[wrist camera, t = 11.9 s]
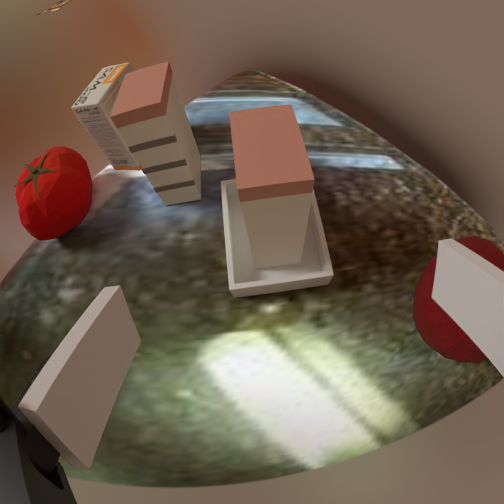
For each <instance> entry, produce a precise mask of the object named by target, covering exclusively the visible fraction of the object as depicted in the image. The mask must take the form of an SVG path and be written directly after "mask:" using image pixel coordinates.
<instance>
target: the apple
mask: <svg viewBox="0 0 504 504" xmlns="http://www.w3.org/2000/svg"><path fill="white" fill-rule="evenodd" d="M456 241H457V242H458V243H460V244H462V245H463V246H465V247H467V248H468V249H470V250H471V251H473V252H475V253H476V254H478V255H479V256H481V257H482V258H484V259H485V260H487V261H488V262H490V263H492V264H493V265H494V266H496V267H497V268H499V269H500V270H502V271H503V272H504V253H503V252H502V251H501V250H500V249H499V248H497V247H496V246H495V245H494V244H493V243H492V242H490V241H489V240H487V239H483V238H480V237H476V236H470V237H466V238H462V239H459V240H456ZM437 254H438V253H437ZM437 254H436V255H435V256H434V257H433V258H432V259H431V261H430V262H429V263H428V265H427V266H426V267H425V269H424V270H423V271H422V274H421V276H420V279H419V282H418V284H417V287H416V290H415V299H414V311H413V318H414V321H415V324H416V328H417V331H418V332H419V334H420V335H421V337H422V338H423V340H424V341H425V342H426V343H427V344H428V345H429V346H430V347H431V348H433V349H434V350H435V351H437V352H438V353H439V354H441V355H442V356H444V357H445V358H448V359H452V360H456V361H460V362H478V363H479V362H481V361H482V360H483V359H485V358H486V357H487V356H486V355H485V354H484V353H483V352H482V351H481V349H480V348H479V347H478V346H477V345H476V344H475V343H474V342H473V340H472V339H471V338H470V337H469V336H468V335H467V334H466V333H465V332H464V331H463V330H462V328H461V327H460V326H459V325H458V324H457V323H456V322H455V321H454V320H453V319H452V318H451V317H450V316H449V315H448V314H447V313H446V312H445V311H444V310H443V309H442V308H441V307H440V306H439V305H438V304H437V302H436V301H435V300H434V299H433V298H432V291H433V285H434V278H435V271H436V263H437Z"/></svg>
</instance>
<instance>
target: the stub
mask: <svg viewBox="0 0 504 504" xmlns="http://www.w3.org/2000/svg"><path fill="white" fill-rule="evenodd" d="M229 115H230V125H231V135H232V145H233V154H234V164H235V174H236V183H237V191H238V195H239V199H240V204H241V208H242V212H243V216H244V221H245V225H246V229H247V233H248V238H249V242H250V246H251V250H252V255H253V259H254V263H255V268H256V269H263V268H270V267H277V266H284V265H291V264H298V263H301V258H302V252H303V247H304V241H305V235H306V230H307V224H308V218H309V212H310V206H311V199H312V193H313V187H314V180H315V179H314V176H313V172H312V169H311V165H310V162H309V158H308V155H307V152H306V148H305V145H304V142H303V139H302V136H301V132H300V129H299V126H298V123H297V120H296V117H295V114H294V111H293V108H292V105H282V106H272V107H263V108H255V109H248V110H241V111H234V112H229Z"/></svg>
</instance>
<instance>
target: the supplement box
mask: <svg viewBox="0 0 504 504" xmlns="http://www.w3.org/2000/svg"><path fill="white" fill-rule="evenodd" d="M133 71H134V70H133V68H132V66H131V63H124V64H119V65H114V66H109V67H105V68H103V69H102V70H101V71H100V73H99V74H98V75H97V76H96V77H95V78H94V80H93V81H92V82H91V83H90V84H89V86H88V87H87V88H86V89H85V90H84V92H83V93H82V94H81V96H80V97H79V98H78V99H77V101H76V102H75V103H74V105H73V106H72V107H71V109H72V110H73V112H74V113H75V115H76V116H77V117H78V119H79V120H80V122H81V123H82V125H83V126H84V128H85V129H86V130H87V132H88V133H89V135H90V136H91V137H92V139H93V140H94V141H95V143H96V144H97V146H98V147H99V149H100V150H101V151H102V153H103V154H104V155H105V157H106V158H107V160H108V161H109V162H110V164H111V165H112V166H113V168H114V169H117V170H118V169H120V170H121V169H123V170H124V169H125V170H140V168H141V166H140V165H139V163H138V161H137V160H136V158H135V156H134V155H133V153H131V152H130V150H129V148H128V145H127V143H126V142H125V140H124V138H123V137H122V135H121V133H120V131H119V130H118V128H116V126H115V125H114V123H113V121H112V119H111V118H110V116H111V113H112V110H113V107H114V104H115V101H116V98H117V95H118V93H119V90H120V87H121V85H122V82H123V79H124V77H125V74H127V73H130V72H133Z"/></svg>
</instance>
